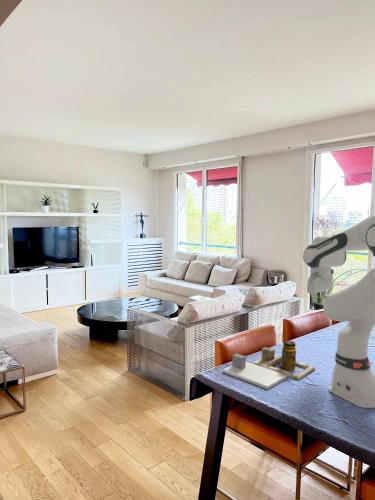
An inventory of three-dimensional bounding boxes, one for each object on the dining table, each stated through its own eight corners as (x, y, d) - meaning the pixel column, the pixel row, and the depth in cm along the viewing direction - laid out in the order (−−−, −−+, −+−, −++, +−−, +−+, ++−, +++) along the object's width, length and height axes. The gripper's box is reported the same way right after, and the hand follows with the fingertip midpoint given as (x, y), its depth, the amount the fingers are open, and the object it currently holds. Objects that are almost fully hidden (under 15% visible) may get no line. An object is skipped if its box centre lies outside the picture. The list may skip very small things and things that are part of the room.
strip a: (314, 369, 171) (315, 356, 170) (298, 379, 160) (299, 365, 159) (270, 356, 186) (271, 343, 185) (253, 364, 175) (253, 351, 175)
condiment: (298, 370, 170) (300, 344, 168) (281, 372, 168) (282, 345, 167) (291, 364, 177) (292, 339, 176) (274, 365, 175) (275, 340, 174)
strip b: (286, 378, 161) (287, 363, 161) (267, 389, 151) (268, 374, 150) (243, 362, 177) (243, 349, 176) (222, 372, 166) (223, 358, 165)
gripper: (317, 274, 168) (316, 305, 169) (335, 270, 183) (333, 298, 184) (304, 272, 172) (302, 303, 173) (322, 268, 187) (321, 296, 188)
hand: (318, 300), depth 179 cm, fingers open, 8 cm apart
